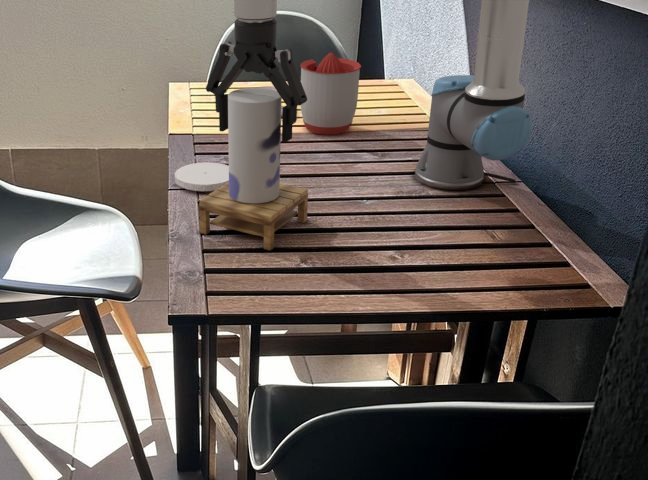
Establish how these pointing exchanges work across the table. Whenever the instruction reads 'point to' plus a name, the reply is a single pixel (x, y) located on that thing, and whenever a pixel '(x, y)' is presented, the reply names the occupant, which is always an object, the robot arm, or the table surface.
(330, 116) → the citrus juicer
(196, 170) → the plastic lid
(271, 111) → the container
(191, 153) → the table surface
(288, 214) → the rack
